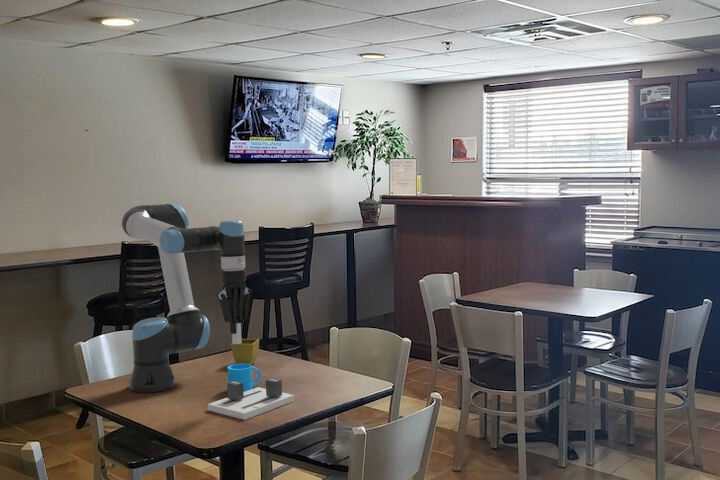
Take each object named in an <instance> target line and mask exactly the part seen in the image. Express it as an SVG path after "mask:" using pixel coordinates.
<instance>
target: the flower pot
mask: <svg viewBox="0 0 720 480" xmlns="http://www.w3.org/2000/svg"><path fill="white" fill-rule="evenodd" d="M241 339H242V343H241V344H234V343H232V342H231V343H230V344H231V345H230V347H231V350H232V351H231V352H232V357H233V359H234V361H235V364H250V365H252V366H253V364H254V363H255V362H256V361H257V358H258V355H259V349H260V339H259V338H241Z"/></svg>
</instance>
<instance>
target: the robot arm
mask: <svg viewBox="0 0 720 480" xmlns="http://www.w3.org/2000/svg"><path fill="white" fill-rule="evenodd" d="M121 218H122V219H121V228H122V230H123V231H124V234H126V235H127V236H128V237H130V238H132V239H135V240H145V241H147V242H150V243H152V244H153V245H154V246H155V247H157V250H158V255H159V258H160V264H161V270H162V275H163V280H164V285H165V290H166V296H167V301H168V302H167V303H168V306H169V307H168V308H169V312H168V313H167V316H166V317H164V316H156V317H149V318H144V319H142V320H139V321H137V322H136V323H135V324H134V325H133V327H132V336H131V339H132V350H133V353H132V354H133V368H132V373H131V377H130V380H129V390H130V391H131V392H136V393H140V394H141V393H143V394H146V393H158V392H163V391H167V390H170V389H173V388H174V387H175V386H176V379H175V376H174V373H173V370H172V368H171V365H170V360H169V359H170V357H169V356H170V355H171V354H177V353H182V352H188V351H196V350H199V349H203V348H204V347H205V346H206V345H207V344H208V341H209V338H210V332H211V329H210V322H209V320H208V318H207V317H206V315H203V314H201V310H200V309H199V308H198V307H196V306H195V302H194V297H193V292H192V287H191V282H190V278H189V272H188V267H187V261H186V257H185V253H191V252H194V253H195V252H205V251H220V263H221V264H220V265H221V267H220V268H221V269H222V271H221V281H222V283H223V285H222V291H220V292H218V293H216V297H217V299H218V301H219V304H220V307H221V312H222V316H223V319H224V322H225V323H228V324H229V326H230V327H229V328H230V334H231V339H232V340H231V341H232V342H231V344H232V343H234V344H241V343H242V339H243V338H242V333H243V323H245V320H247V319H248V315H249V306H250V301H251V300H250V298H251V295H252V293H253V289H251V288H248V287H247V285H246V281H247V271H246V270H245V268H246V254H245V253H246V252H245V246H246V245H245V243H246V242H245V231H244V229H245V228H244V223H243V222H244V221H242V220H222V221H220V222H219V226H215V225H211V226H206V227H205V226H204V227H194V228H193V227H192V228H191V227H189V225H190V224H189V223H190V222H189V217H188V215H187V212H186V210H185V209H184V208H183V207H182V206H181V205H180V204H174V203H165V204H148V205H145V204H141V205H136V206H133V207H131V208H129V209H128V210H127V211H126V212H125V213H124V214H123V216H122V217H121Z"/></svg>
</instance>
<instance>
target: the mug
mask: <svg viewBox="0 0 720 480" xmlns="http://www.w3.org/2000/svg"><path fill="white" fill-rule="evenodd" d="M253 370H255V372H256V373H257V378H256V380H255V381H254V382H253ZM261 375H262V374H261V370H259V368H257V367H256V366H253V364H252V365H250V364H237V363H234V364H230V365H228V366H227V383H229V382H232V381H237V382H242V383H243V391H244V392H245V391H248V390H251V389H254V388H253V387H254V386H256V385H257V384H258V383H259V381H260V380H261V377H262V376H261Z"/></svg>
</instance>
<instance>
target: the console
mask: <svg viewBox="0 0 720 480" xmlns="http://www.w3.org/2000/svg"><path fill="white" fill-rule="evenodd" d="M294 402H295V395H294V394H291V393H286V392H282V396H279V397H277V398H274V397H269V396H266V388H263V387H260V386H259V387H258V386H257V387H255V388H253V389H251V390H248V391H245V392H244V398H243V399H241V400H238V401H235V400H231V399H228V396H227V397H225V398H222V399H219V400H216V401H213V402H210V403H208V404H207V411H210V412H212V411H213V413H217V414H219V415H220V414H221V415H225V416H227V417H232V418H236V419H240V420H244V421H246V420H249V419H251V418H253V417H256V416H258V415H262V414H264V413H266V412H269V411H272V410H275V409H278V408H279V407H282V406H285V405H288V404H291V403H294Z"/></svg>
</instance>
